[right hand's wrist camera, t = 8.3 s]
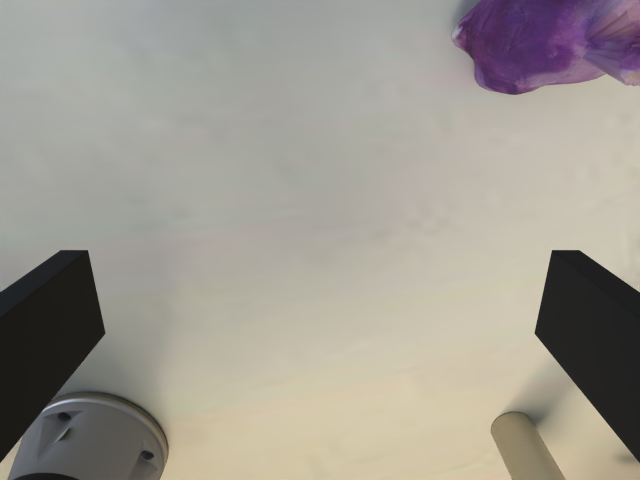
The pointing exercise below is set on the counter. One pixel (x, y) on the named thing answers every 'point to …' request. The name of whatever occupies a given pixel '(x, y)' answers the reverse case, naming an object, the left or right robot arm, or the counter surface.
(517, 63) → the figurine
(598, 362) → the right robot arm
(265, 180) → the counter surface
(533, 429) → the bottle
